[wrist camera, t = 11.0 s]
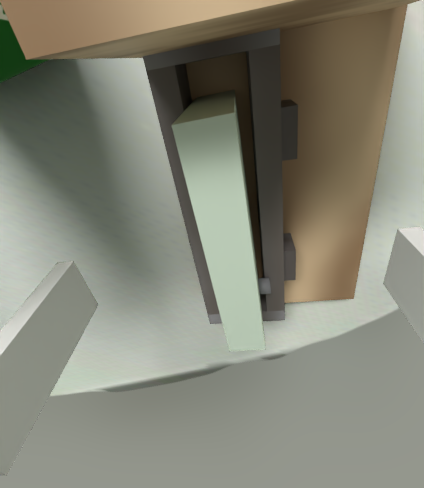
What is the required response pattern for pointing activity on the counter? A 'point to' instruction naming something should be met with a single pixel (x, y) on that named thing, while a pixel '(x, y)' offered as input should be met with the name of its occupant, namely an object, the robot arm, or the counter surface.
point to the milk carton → (12, 51)
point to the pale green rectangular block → (223, 213)
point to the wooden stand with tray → (259, 113)
